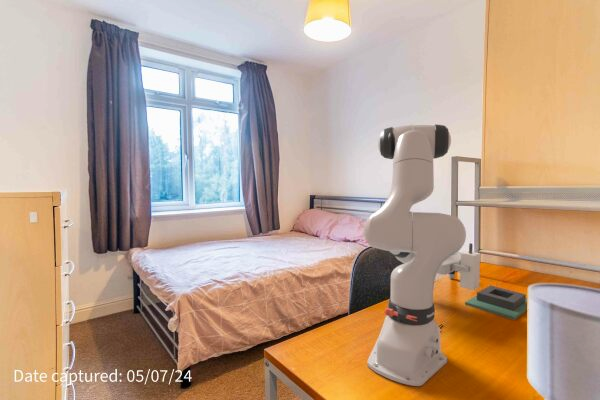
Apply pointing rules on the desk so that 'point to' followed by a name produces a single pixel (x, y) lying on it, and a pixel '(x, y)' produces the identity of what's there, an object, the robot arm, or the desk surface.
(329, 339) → the desk surface
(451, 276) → the light bulb
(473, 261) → the plug
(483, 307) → the board
